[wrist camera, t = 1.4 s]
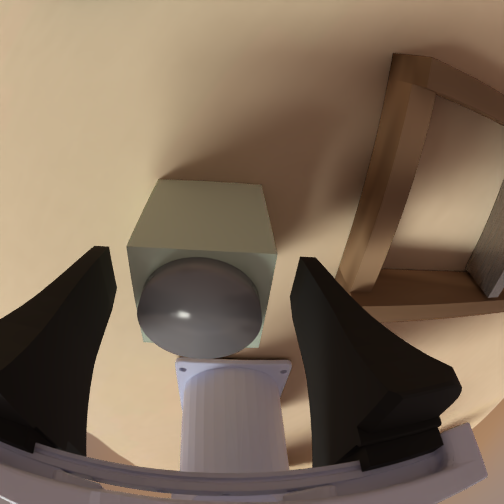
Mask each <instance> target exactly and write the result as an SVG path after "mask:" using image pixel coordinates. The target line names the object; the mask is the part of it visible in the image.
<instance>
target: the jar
mask: <svg viewBox="0 0 504 504" xmlns="http://www.w3.org/2000/svg"><path fill="white" fill-rule="evenodd" d="M127 253H128V260H129V267H130V273H131V279H132V285H133V291H134V297H135V302H136V307H137V317H138V321H139V324H140V327H141V332H142V337H143V341H144V342H150V343H155V344H156V345H158V346H159V347H161V348H163V349H164V350H166V351H168V352H171V353H173V354H176V355H179V356H183V357H188V358H195V359H214V358H221V357H225V356H229V355H232V354H234V353H236V352H239V351H241V350H242V349H244V348H259V343H260V339H261V334H262V329H263V324H264V319H265V314H266V310H267V305H268V300H269V295H270V290H271V285H272V280H273V275H274V269H275V264H276V259H277V250H276V245H275V241H274V237H273V232H272V228H271V223H270V219H269V215H268V210H267V206H266V202H265V197H264V193H263V189H262V185H258V184H244V183H230V182H213V181H194V180H168V179H158V181H157V183H156V185H155V187H154V189H153V191H152V193H151V195H150V197H149V199H148V201H147V203H146V205H145V207H144V209H143V212H142V214H141V216H140V218H139V220H138V222H137V224H136V226H135V229H134V231H133V233H132V235H131V237H130V239H129V242H128V244H127Z"/></svg>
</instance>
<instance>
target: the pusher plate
mask: <svg viewBox="0 0 504 504" xmlns="http://www.w3.org/2000/svg"><path fill="white" fill-rule="evenodd" d="M465 268H466V270H467V271H468V272H469V274H470V275H471V276H472V277H473V279H474V280H475V281H476V283H477V284H478V285H479V286H480V288H481V289H482V290H483V292H484V293H485V295H486V296H487V297H488V298H491V297H498V296H499V295H500V293H501V291H502V290H503V288H504V181H503V184H502V186H501V189H500V192H499V194H498V197H497V200H496V202H495V205H494V207H493V210H492V212H491V214H490V217H489V219H488V221H487V224H486V226H485V228H484V230H483V233H482V235H481V237H480V239H479V241H478V243H477V246H476V248H475V250H474V252H473V254H472V256H471V258H470V260H469V262H468V264H467V266H466V267H465Z"/></svg>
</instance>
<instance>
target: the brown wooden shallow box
mask: <svg viewBox="0 0 504 504" xmlns="http://www.w3.org/2000/svg"><path fill="white" fill-rule="evenodd" d="M436 95H438V96H440V97H443V98H445V99H448V100H450V101H453V102H455V103H457V104H460V105H462V106H464V107H466V108H468V109H471V110H473V111H475V112H477V113H479V114H481V115H483V116H485V117H487V118H489V119H491V120H493V121H495V122H497V123H499V124H501V125H503V126H504V95H503V94H502V93H500V92H498V91H497V90H495V89H493V88H491V87H490V86H488V85H486V84H485V83H483V82H481V81H479V80H477V79H475V78H474V77H472V76H470V75H468V74H466V73H464V72H462V71H460V70H458V69H456V68H454V67H452V66H450V65H448V64H446V63H444V62H441V61H439V60H437V59H435V58H432V57H425V56H417V55H407V54H396V53H393V57H392V63H391V68H390V74H389V79H388V85H387V90H386V95H385V100H384V104H383V109H382V114H381V118H380V123H379V127H378V132H377V136H376V140H375V144H374V148H373V152H372V156H371V160H370V164H369V168H368V172H367V176H366V179H365V183H364V187H363V190H362V194H361V198H360V201H359V205H358V208H357V211H356V215H355V218H354V222H353V225H352V228H351V231H350V235H349V238H348V241H347V244H346V247H345V250H344V253H343V257H342V260H341V263H340V266H339V269H338V272H337V275H336V277H335V280H336V281H337V282H338V283H339V284H340V285H341V286H342V287H343V288H344V289H345V290H346V292H347V293H348V294H349V295H350V296H351V297H352V298H353V299H354V300H355V301H356V302H357V303H358V304H359V305H360V306H361V307H362V308H364V309H365V310H366V311H367V312H368V313H369V314H370V315H371V316H372V317H374V318H375V319H376V320H377V321H378V322H380V323H382V322H401V321H417V320H430V319H443V318H454V317H464V316H474V315H483V314H491V313H499V312H504V288H503V290H502V291H501V293H500V295H499V296H498V297H491V298H488V297H487V296H486V295H485V293H484V292H483V290H482V289H481V288H480V286H479V285H478V284H477V283H476V281H475V280H474V279H473V277H472V276H471V275H470V274H469V272H460V271H427V270H398V269H381V268H382V265H383V263H384V260H385V258H386V255H387V253H388V250H389V248H390V245H391V243H392V240H393V237H394V235H395V232H396V229H397V227H398V224H399V221H400V219H401V216H402V213H403V210H404V207H405V204H406V201H407V198H408V195H409V192H410V189H411V186H412V183H413V180H414V177H415V173H416V170H417V167H418V163H419V160H420V157H421V153H422V150H423V146H424V142H425V139H426V135H427V131H428V127H429V123H430V119H431V115H432V111H433V106H434V102H435V97H436Z"/></svg>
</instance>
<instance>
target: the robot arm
mask: <svg viewBox="0 0 504 504" xmlns="http://www.w3.org/2000/svg"><path fill="white" fill-rule="evenodd" d="M116 289H117V286H116V281H115V276H114V271H113V266H112V261H111V256H110V250H109V247H104V246H94V247H93V248H91V249H90V250H89V251H88V252H86V253H85V254H84V255H83V256H82V257H81V258H80V259H78V260H77V261H76V262H75V263H74V264H73V265H72V266H70V267H69V268H68V269H67V270H66V271H65V272H64V273H63V274H61V275H60V276H59V277H58V278H57V279H55V280H54V281H53V282H52V283H51V284H49V285H48V286H47V287H46V288H45V289H43V290H42V291H41V292H40V293H38V294H37V295H36V296H35V297H33V298H32V299H30V300H29V301H28V302H26V303H25V304H24V305H22V306H21V307H19V308H18V309H16V310H14V311H13V312H11V313H10V314H8V315H6V316H5V317H3V318H2V319H0V498H2V499H4V500H6V501H8V502H10V503H12V504H437V503H439V502H441V501H443V500H445V499H447V498H449V497H451V496H453V495H455V494H457V493H459V492H461V491H463V490H465V489H467V488H469V487H470V486H473V485H474V484H476V483H478V482H480V481H482V480H483V479H485V478H486V477H487V476H488V474H487V471H486V468H485V465H484V462H483V459H482V456H481V453H480V450H479V447H478V445H477V442H476V439H475V437H474V434H473V431H472V429H471V426H470V424H469V423H464V424H462V425H459V426H456V427H454V428H451V429H448V430H446V431H444V432H442V433H441V434H440V432H439V430H438V427H439V426H441V423H442V422H441V420H440V417H439V415H441V414H442V413H443V412H444V411H445V410H446V409H447V408H448V407H449V406H450V405H452V404H453V403H454V402H455V400H456V399H457V398H458V397H459V395H460V393H461V391H462V387H461V384H460V382H459V380H458V378H457V376H456V374H455V372H454V370H453V368H452V367H451V366H449V365H447V364H445V363H443V362H441V361H439V360H437V359H434V358H432V357H430V356H429V355H427V354H425V353H423V352H422V351H420V350H418V349H416V348H415V347H413V346H411V345H410V344H408V343H407V342H405V341H404V340H402V339H401V338H399V337H398V336H397V335H395V334H394V333H392V332H391V331H390V330H388V329H387V328H386V327H384V326H383V325H382V324H381V323H380V322H378V321H377V320H376V319H375V318H374V317H372V316H371V315H370V314H369V313H368V312H367V311H366V310H365V309H364V308H362V307H361V306H360V305H359V304H358V303H357V302H356V301H355V300H354V299H353V298H352V297H351V296H350V295H349V294H348V293H347V292H346V290H345V289H344V288H343V287H342V286H341V285H340V284H339V283H338V282H337V281H336V280H335V278H334V277H333V276H332V275H331V274H330V273H329V272H328V271H327V269H326V268H325V267H324V266H323V265H322V264H321V263H320V262H319V261H318V260H317V259H316V258H315V257H300V259H299V263H298V267H297V271H296V275H295V279H294V283H293V287H292V291H291V295H290V301H291V310H292V318H293V323H294V327H295V331H296V335H297V339H298V343H299V347H300V351H301V355H302V359H303V363H304V368H305V373H306V378H307V386H308V395H309V404H310V415H311V430H312V461H313V463H312V468H307V469H298V470H289V463H288V455H287V448H286V440H285V433H284V425H283V418H282V411H281V403H280V397H281V394H282V392H283V389H284V386H285V384H286V381H287V379H288V376H289V373H290V371H291V368H292V364H291V361H289V360H230V359H195V358H185V357H180V358H177V359H176V362H175V366H176V374H177V380H178V387H179V394H180V400H181V406H182V412H183V413H182V431H181V454H180V471H173V470H162V469H153V468H145V467H138V466H131V465H125V464H119V463H114V462H108V461H103V460H99V459H94V458H89V457H86V427H87V412H88V402H89V393H90V386H91V380H92V374H93V368H94V364H95V360H96V356H97V353H98V350H99V347H100V344H101V341H102V338H103V335H104V332H105V329H106V326H107V323H108V320H109V317H110V314H111V311H112V308H113V303H114V299H115V294H116ZM83 478H84V479H83ZM86 479H88V480H86ZM89 480H92V481H96V482H101V483H105V484H110V485H115V486H120V487H126V488H132V489H139V490H146V491H153V492H161V493H171V494H172V498H158V497H150V496H143V495H136V494H130V493H124V492H118V491H111V490H106V489H104V488H102V486H101V485H100V484H98V483H95V482H92V481H89Z"/></svg>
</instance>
